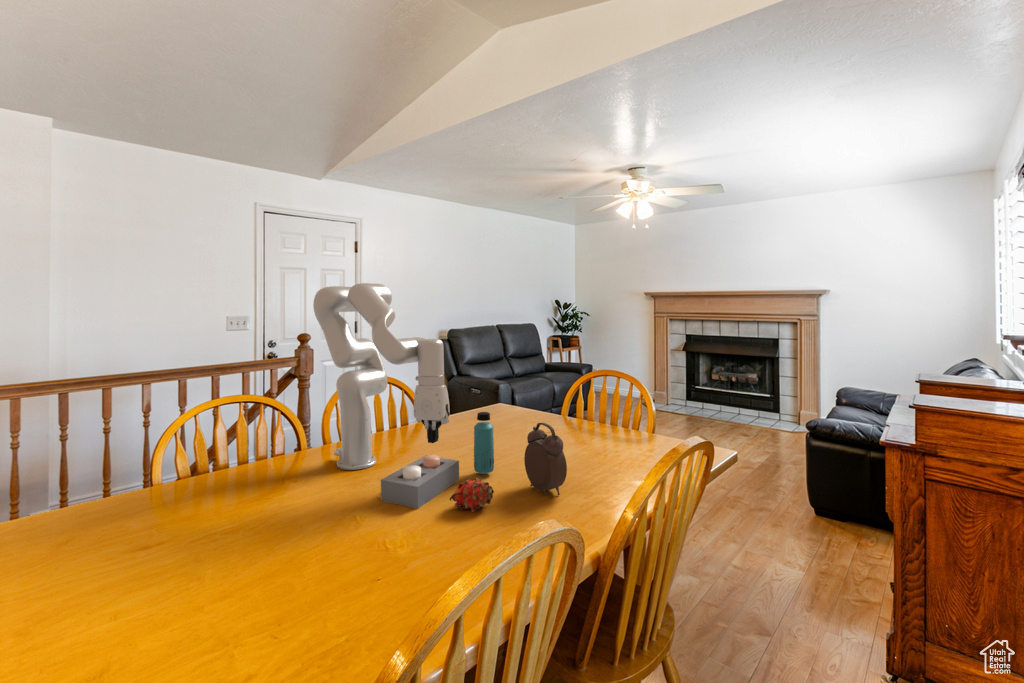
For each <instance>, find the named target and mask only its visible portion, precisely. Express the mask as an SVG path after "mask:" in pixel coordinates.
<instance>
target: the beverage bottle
mask: <svg viewBox="0 0 1024 683" xmlns="http://www.w3.org/2000/svg"><path fill="white" fill-rule="evenodd" d="M476 420H477V421H479V422H477V423H476V424H475V425H474V426H473V469H474V472H475V473H478V474H489V473H492V472H493V471H494V468H495V447H494V445H495V441H494V425H493V424H492V423H491V422H489V421H490V420H491V413H490V412H489V411H488V412H487V411H479V412H477V416H476Z"/></svg>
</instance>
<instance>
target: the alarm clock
mask: <svg viewBox="0 0 1024 683" xmlns="http://www.w3.org/2000/svg"><path fill="white" fill-rule="evenodd" d="M540 426H543V427H546V428H547V429H549V431H550V433H551V434H550V435H548V434H547V433H546V432H545V431H544V430H543V429H539V428H540ZM532 429H533V430H532V431H530V432H528V435H527V437H526V438H527V443H528V444H527V445H526V448H525V451H524V457H523V458H524V460H523V461H524V467H525V468H524V469H525V472H526V473H525V474H526V476H527V478H528V481H529V482H530V484H529V485H530V487H533V488H534V489H536V490H537V491H539V492H543V491H544V495H545V497H547V496H548V491H551V490H554V489H555V491H556V493H557V496H561V495H560V489H559V488H560V487H561V486H563V484H564V483H565V482H566V479H567V474H568V473H567V472H568V468H567V460H566V456H565V454H564V441H563V440H562V439H561V437H560V436H558V435H556V432H555V429H554V428H553V426H551V425H550V424H548V423H546V422H538V423H536V426H533V428H532Z"/></svg>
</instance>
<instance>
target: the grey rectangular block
mask: <svg viewBox="0 0 1024 683" xmlns="http://www.w3.org/2000/svg"><path fill="white" fill-rule="evenodd" d="M425 456H427V455H424V456H422V457H420V458H418V459H417V460H415V461H413V462H411V463H409V464H407V465H405V466H404V467H407V466H413V465H415V466H420V467H421V478H419V479H417V480H416V481H412V480H407V479H403V468H404V467H401V468H399V469H398V470H395V471H394V472H393V473H390V474H389V475H387V476H385V477H382V478H381V479H380V501H381V502H385V503H390V504H394V505H398V506H402V507H403V506H405V507H408V508H412V509H416V510H417V509H418V510H419V509H420V508H421V507H422V506H424V505H425V504H427V503H428V502H430V501H431V500H432V499H435V497H437V496H438V495H440V494H441V493H442V492H444V491H445V490H446V489H448V488H450V487H451V486H453V485H454V484H455V483H456V482H458V481H459V480H460V460H459V459H458V460H456V459H451V458H450V459H449V458H444V457H440V466H439V467H437V468H435V469H432V468H427V467H423V457H425Z"/></svg>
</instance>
